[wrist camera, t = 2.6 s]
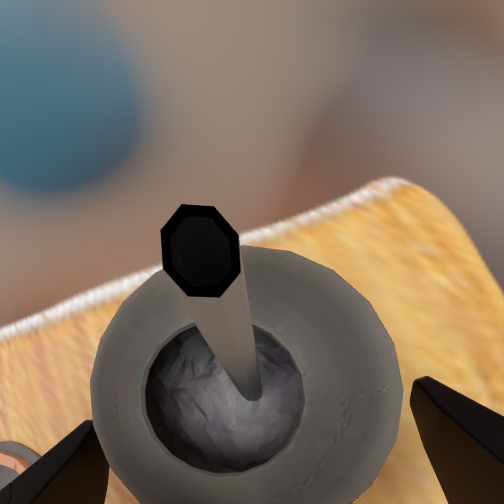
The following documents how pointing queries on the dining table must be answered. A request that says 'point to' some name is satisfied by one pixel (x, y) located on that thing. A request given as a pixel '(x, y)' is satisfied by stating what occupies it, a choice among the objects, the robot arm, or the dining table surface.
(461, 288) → the dining table surface
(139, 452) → the beverage cup
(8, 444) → the cup holder
